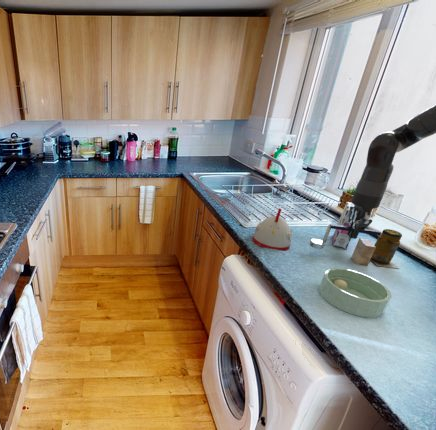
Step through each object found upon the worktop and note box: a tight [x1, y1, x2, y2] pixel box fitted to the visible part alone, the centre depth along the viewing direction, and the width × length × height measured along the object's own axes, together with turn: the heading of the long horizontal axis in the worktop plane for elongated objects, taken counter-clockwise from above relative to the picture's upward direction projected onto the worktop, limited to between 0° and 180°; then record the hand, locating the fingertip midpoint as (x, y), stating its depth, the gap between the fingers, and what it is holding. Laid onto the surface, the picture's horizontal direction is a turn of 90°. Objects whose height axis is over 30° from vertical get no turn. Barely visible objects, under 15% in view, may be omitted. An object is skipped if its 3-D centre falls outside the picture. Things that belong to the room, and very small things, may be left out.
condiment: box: [370, 228, 403, 269], centre depth 105 cm, size 7×8×12 cm
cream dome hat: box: [252, 208, 293, 252], centre depth 116 cm, size 14×14×15 cm
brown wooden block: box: [351, 237, 376, 267], centre depth 105 cm, size 3×6×8 cm, turn 159°
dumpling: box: [333, 280, 347, 291], centre depth 90 cm, size 4×4×4 cm
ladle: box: [309, 223, 382, 250], centre depth 106 cm, size 19×4×10 cm, turn 69°
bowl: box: [318, 267, 392, 319], centre depth 86 cm, size 16×16×6 cm
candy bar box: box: [332, 201, 355, 250], centre depth 117 cm, size 11×5×16 cm, turn 145°
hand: (351, 236), depth 104 cm, fingers closed on ladle, 1 cm apart
